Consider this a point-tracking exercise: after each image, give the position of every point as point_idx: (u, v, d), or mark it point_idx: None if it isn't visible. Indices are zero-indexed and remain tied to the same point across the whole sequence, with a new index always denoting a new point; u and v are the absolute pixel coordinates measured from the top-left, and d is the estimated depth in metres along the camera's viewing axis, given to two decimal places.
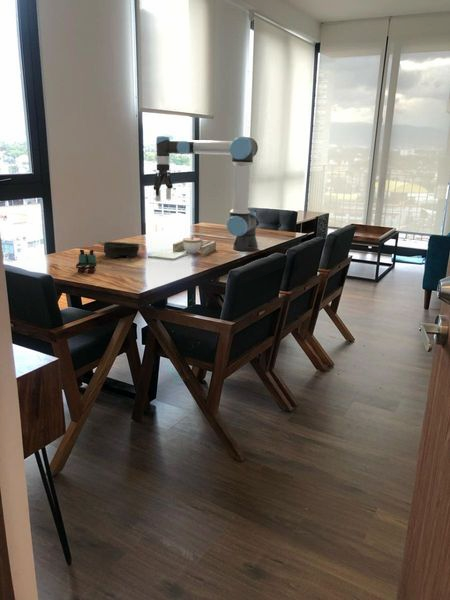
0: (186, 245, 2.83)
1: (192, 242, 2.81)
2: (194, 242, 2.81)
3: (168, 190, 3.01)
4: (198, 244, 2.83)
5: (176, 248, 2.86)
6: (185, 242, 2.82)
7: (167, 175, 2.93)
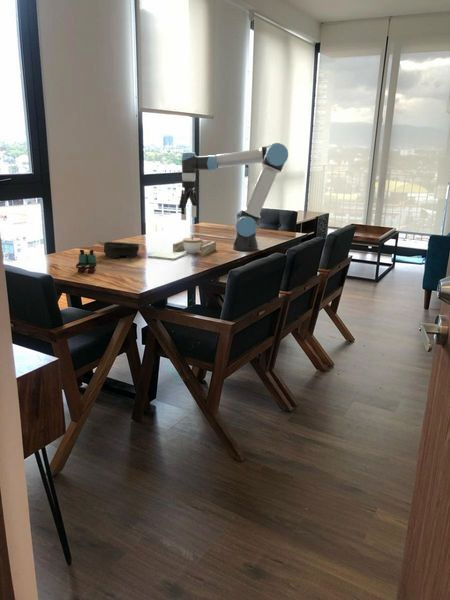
0: (186, 245, 2.83)
1: (192, 242, 2.81)
2: (194, 242, 2.81)
3: (193, 207, 2.88)
4: (198, 244, 2.83)
5: (176, 248, 2.86)
6: (185, 242, 2.82)
7: (193, 192, 2.81)
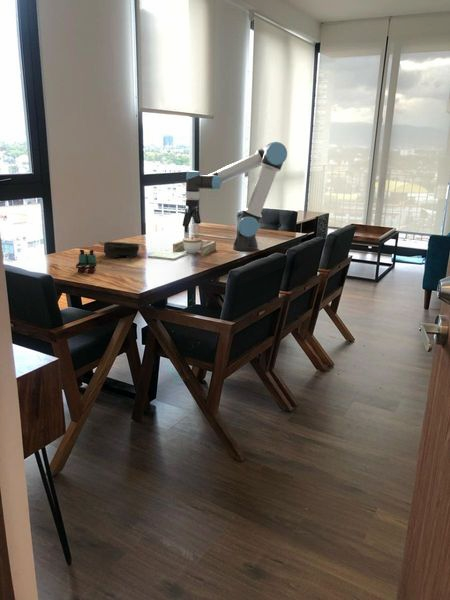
0: (186, 245, 2.83)
1: (192, 242, 2.81)
2: (194, 242, 2.81)
3: (196, 225, 2.89)
4: (198, 244, 2.83)
5: (176, 248, 2.86)
6: (185, 242, 2.82)
7: (196, 211, 2.82)
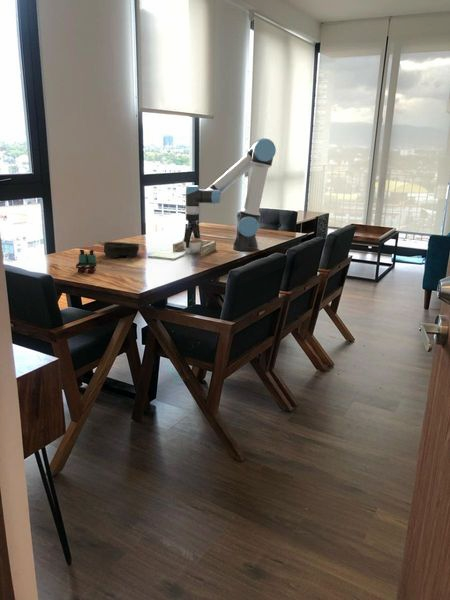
0: None
1: (192, 242, 2.81)
2: (194, 242, 2.81)
3: None
4: (198, 244, 2.83)
5: (176, 248, 2.86)
6: (185, 242, 2.82)
7: (196, 225, 2.84)
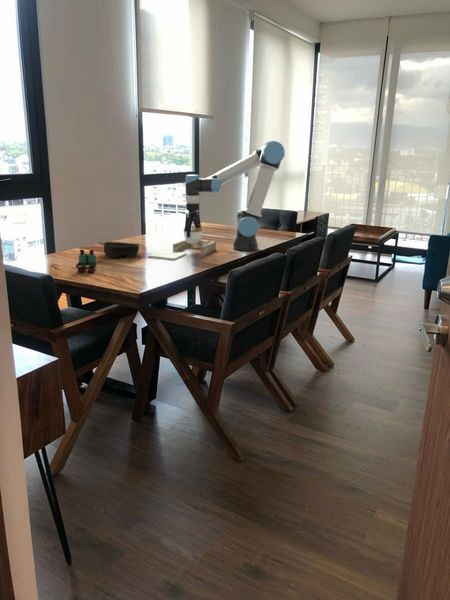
0: None
1: (193, 232, 2.79)
2: (195, 232, 2.79)
3: None
4: (199, 233, 2.81)
5: (176, 248, 2.86)
6: None
7: (197, 214, 2.82)
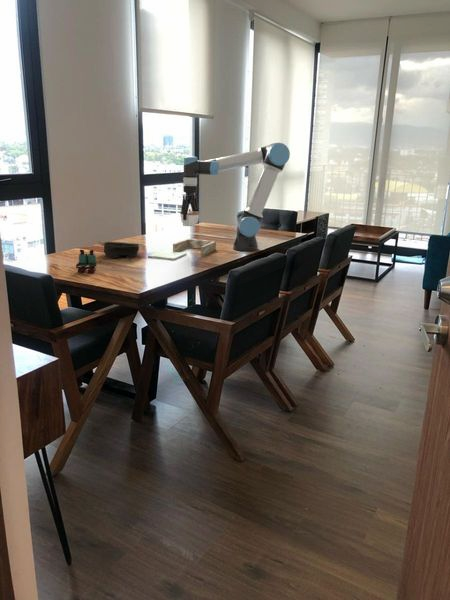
0: None
1: (189, 214, 2.75)
2: (191, 214, 2.75)
3: None
4: (196, 217, 2.77)
5: (176, 248, 2.86)
6: (182, 214, 2.77)
7: (194, 197, 2.78)
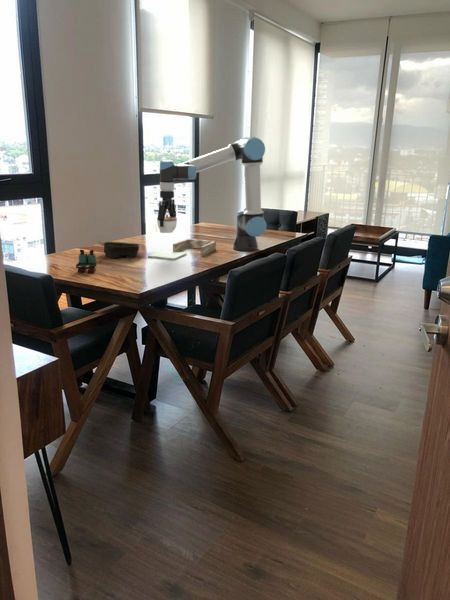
0: None
1: (166, 221, 2.65)
2: (169, 221, 2.65)
3: None
4: (173, 223, 2.67)
5: (176, 248, 2.86)
6: (159, 221, 2.67)
7: (171, 203, 2.68)
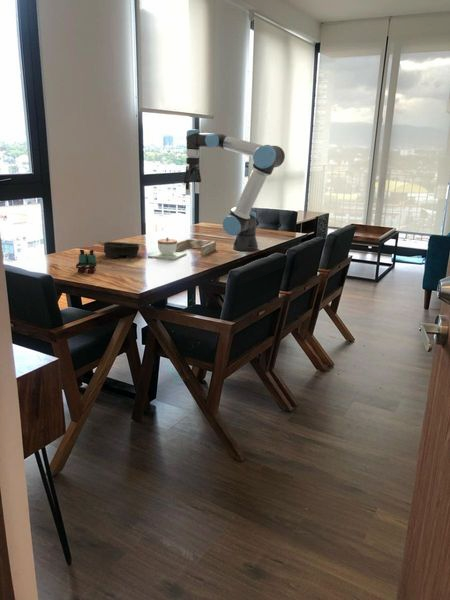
0: (161, 247, 2.70)
1: (167, 244, 2.69)
2: (169, 244, 2.69)
3: (197, 184, 2.99)
4: (173, 246, 2.71)
5: (176, 248, 2.86)
6: (160, 244, 2.70)
7: (196, 169, 2.92)
